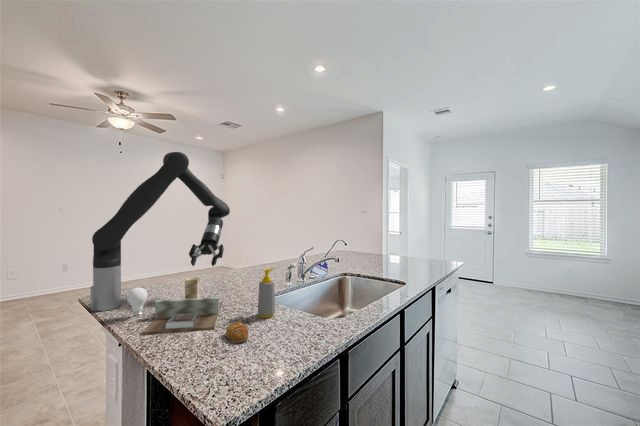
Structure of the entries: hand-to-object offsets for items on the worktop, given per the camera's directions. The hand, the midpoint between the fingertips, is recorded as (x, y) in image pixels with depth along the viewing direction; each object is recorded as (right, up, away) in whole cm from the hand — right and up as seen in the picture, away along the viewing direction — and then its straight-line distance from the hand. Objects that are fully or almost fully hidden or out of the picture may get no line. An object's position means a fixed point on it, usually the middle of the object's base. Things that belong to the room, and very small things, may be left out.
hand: (202, 264), depth 126 cm
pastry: (+25, -18, -33) cm, 45 cm away
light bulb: (-18, -17, -17) cm, 30 cm away
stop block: (0, -16, -11) cm, 19 cm away
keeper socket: (+3, -17, -25) cm, 31 cm away
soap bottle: (+31, -17, -14) cm, 38 cm away
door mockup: (+2, -17, -18) cm, 24 cm away
